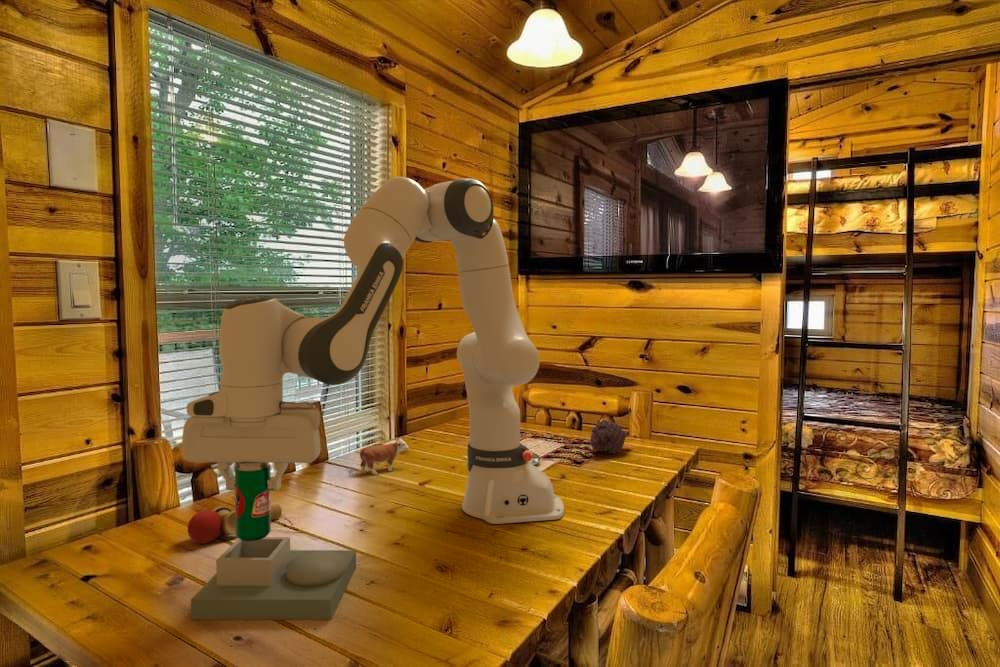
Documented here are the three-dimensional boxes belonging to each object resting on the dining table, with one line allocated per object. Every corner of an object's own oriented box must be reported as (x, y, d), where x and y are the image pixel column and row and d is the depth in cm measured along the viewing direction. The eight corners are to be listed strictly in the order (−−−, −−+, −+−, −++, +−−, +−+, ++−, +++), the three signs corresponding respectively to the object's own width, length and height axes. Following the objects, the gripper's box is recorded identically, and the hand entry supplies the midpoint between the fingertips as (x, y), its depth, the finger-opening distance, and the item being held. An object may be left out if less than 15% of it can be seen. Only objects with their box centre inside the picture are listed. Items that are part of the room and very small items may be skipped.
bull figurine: (410, 469, 155) (410, 439, 155) (362, 477, 148) (362, 446, 147) (403, 465, 159) (403, 435, 158) (356, 473, 151) (356, 442, 151)
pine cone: (605, 463, 163) (606, 428, 162) (576, 456, 169) (576, 422, 169) (636, 451, 176) (636, 418, 175) (607, 445, 183) (608, 413, 182)
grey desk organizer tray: (356, 567, 100) (356, 527, 99) (331, 619, 84) (330, 572, 83) (239, 567, 99) (238, 527, 99) (191, 619, 83) (190, 572, 83)
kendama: (264, 519, 124) (176, 534, 109) (270, 491, 123) (183, 503, 109) (283, 535, 119) (195, 553, 105) (290, 506, 119) (202, 520, 104)
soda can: (257, 544, 88) (257, 465, 87) (228, 540, 89) (227, 463, 88) (277, 531, 92) (277, 457, 92) (249, 528, 94) (248, 454, 93)
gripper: (325, 398, 93) (326, 483, 94) (196, 397, 92) (198, 482, 93) (313, 406, 86) (314, 496, 87) (175, 404, 86) (177, 495, 87)
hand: (253, 489), depth 90 cm, fingers closed on soda can, 5 cm apart
